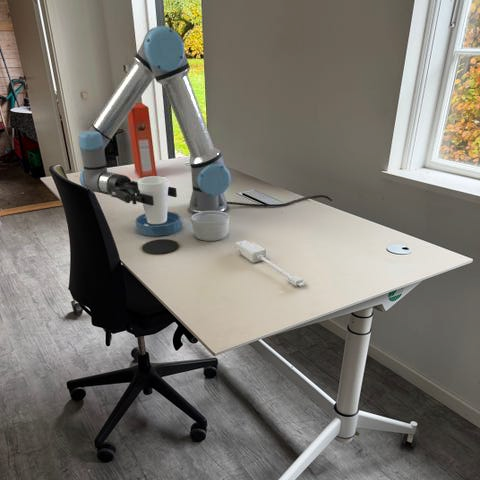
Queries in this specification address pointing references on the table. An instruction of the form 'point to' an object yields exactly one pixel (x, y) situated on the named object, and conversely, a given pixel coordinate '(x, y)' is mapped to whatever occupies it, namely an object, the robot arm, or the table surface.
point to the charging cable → (259, 254)
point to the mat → (160, 246)
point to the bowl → (158, 225)
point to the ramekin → (210, 225)
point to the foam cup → (155, 198)
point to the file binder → (141, 140)
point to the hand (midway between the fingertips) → (164, 196)
